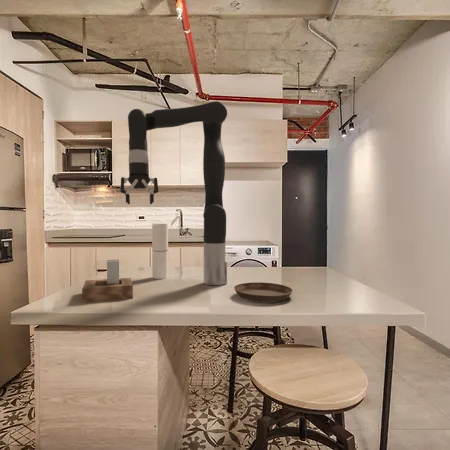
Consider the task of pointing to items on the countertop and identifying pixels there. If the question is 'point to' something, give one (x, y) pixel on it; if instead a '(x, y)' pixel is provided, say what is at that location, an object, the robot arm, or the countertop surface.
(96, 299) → the well block
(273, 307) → the countertop surface
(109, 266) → the grey block
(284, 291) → the plant saucer
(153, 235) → the cylindrical container
